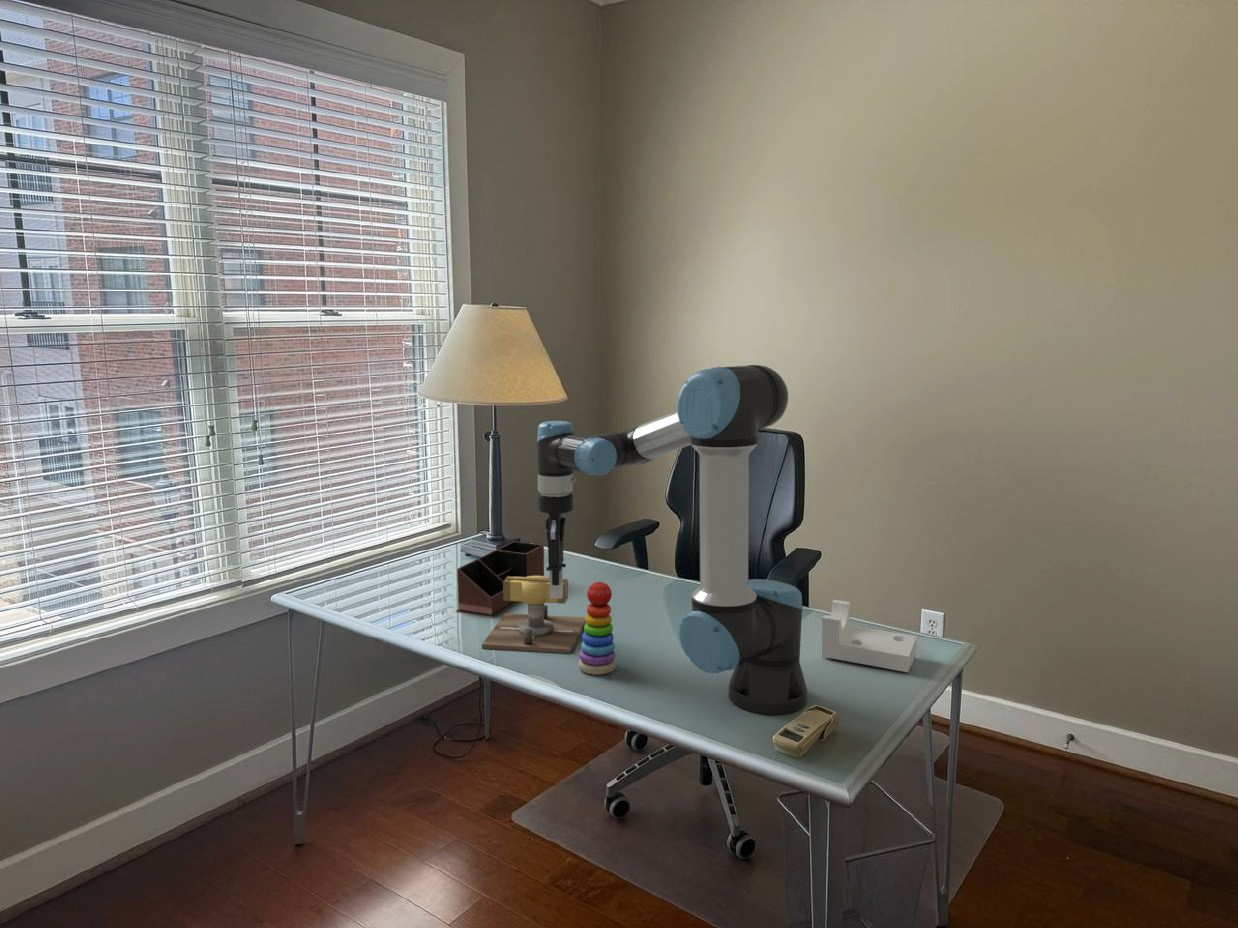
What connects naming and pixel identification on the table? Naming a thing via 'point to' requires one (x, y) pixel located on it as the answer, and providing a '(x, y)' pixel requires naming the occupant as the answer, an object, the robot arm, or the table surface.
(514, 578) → the yellow block with ball
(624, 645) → the table surface
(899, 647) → the white mounting bracket
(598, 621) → the stacking toy
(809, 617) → the table surface
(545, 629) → the base
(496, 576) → the desk organizer
